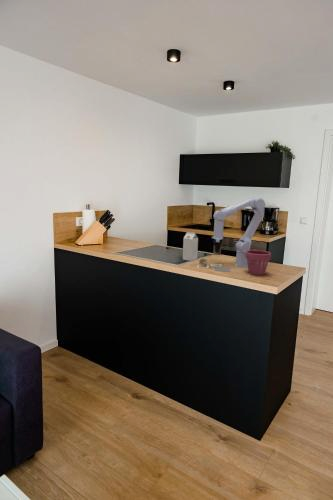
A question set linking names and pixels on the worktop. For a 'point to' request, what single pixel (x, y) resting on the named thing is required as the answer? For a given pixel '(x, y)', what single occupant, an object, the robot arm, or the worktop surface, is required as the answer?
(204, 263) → the oak block
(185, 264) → the worktop surface
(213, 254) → the walnut block
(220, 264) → the code tile
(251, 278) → the worktop surface
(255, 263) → the plant pot
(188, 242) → the milk carton
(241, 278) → the worktop surface
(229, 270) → the slate coaster
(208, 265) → the code tile
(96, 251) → the worktop surface
